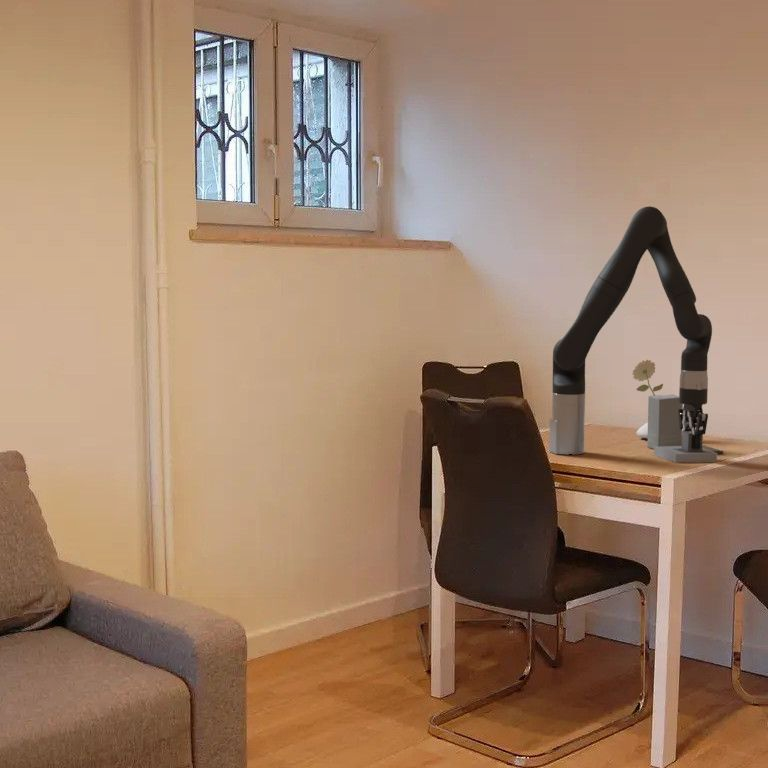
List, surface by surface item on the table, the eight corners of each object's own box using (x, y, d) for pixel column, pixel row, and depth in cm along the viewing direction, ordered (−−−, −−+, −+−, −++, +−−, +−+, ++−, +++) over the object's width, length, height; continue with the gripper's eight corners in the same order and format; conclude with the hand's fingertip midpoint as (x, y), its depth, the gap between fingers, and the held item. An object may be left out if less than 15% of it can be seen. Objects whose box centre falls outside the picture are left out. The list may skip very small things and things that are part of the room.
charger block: (687, 455, 308) (688, 433, 307) (681, 452, 312) (682, 430, 311) (702, 454, 308) (702, 432, 308) (695, 452, 313) (696, 430, 312)
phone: (723, 454, 319) (723, 450, 319) (703, 454, 318) (703, 451, 318) (703, 448, 331) (703, 444, 331) (684, 448, 330) (684, 445, 330)
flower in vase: (668, 436, 356) (670, 358, 354) (677, 441, 345) (679, 361, 342) (627, 436, 356) (629, 358, 354) (635, 441, 345) (636, 360, 343)
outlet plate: (675, 462, 304) (676, 453, 304) (654, 455, 318) (654, 446, 317) (716, 461, 306) (717, 452, 306) (693, 454, 320) (693, 445, 320)
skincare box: (670, 446, 335) (671, 393, 333) (683, 449, 328) (685, 396, 326) (645, 447, 332) (646, 394, 331) (658, 451, 325) (659, 397, 324)
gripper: (669, 384, 315) (668, 444, 316) (692, 389, 301) (690, 452, 302) (694, 384, 316) (692, 443, 318) (718, 388, 302) (716, 451, 303)
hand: (691, 447), depth 310 cm, fingers open, 4 cm apart
